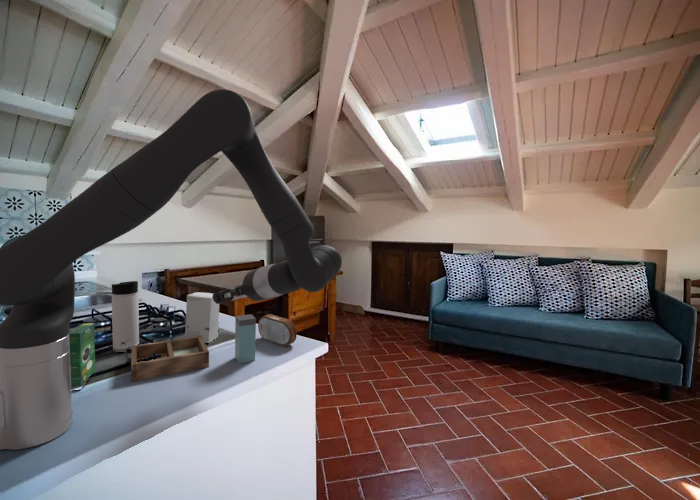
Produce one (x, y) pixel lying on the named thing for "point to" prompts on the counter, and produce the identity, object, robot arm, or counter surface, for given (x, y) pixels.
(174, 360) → the caddy
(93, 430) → the counter surface
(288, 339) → the tin
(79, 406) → the counter surface
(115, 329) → the travel mug
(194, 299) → the skincare box
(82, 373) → the coffee box
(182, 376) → the counter surface
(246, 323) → the teal square bottle
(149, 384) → the counter surface
